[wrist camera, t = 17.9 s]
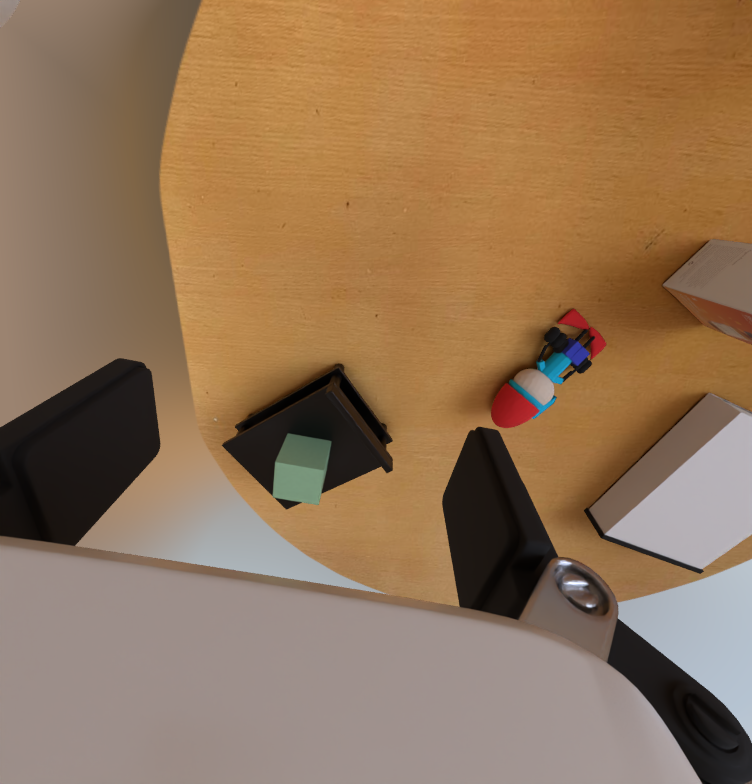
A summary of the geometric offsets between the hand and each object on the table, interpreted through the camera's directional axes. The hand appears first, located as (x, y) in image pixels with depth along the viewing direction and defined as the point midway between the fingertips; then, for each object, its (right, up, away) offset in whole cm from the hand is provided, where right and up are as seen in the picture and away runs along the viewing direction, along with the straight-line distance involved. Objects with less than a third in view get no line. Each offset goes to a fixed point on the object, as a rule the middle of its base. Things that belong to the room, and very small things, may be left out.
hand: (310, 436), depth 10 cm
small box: (+36, +13, +26) cm, 47 cm away
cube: (-6, -6, +30) cm, 32 cm away
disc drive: (+46, -11, +39) cm, 61 cm away
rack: (-6, -3, +36) cm, 37 cm away
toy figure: (+21, +4, +32) cm, 38 cm away
